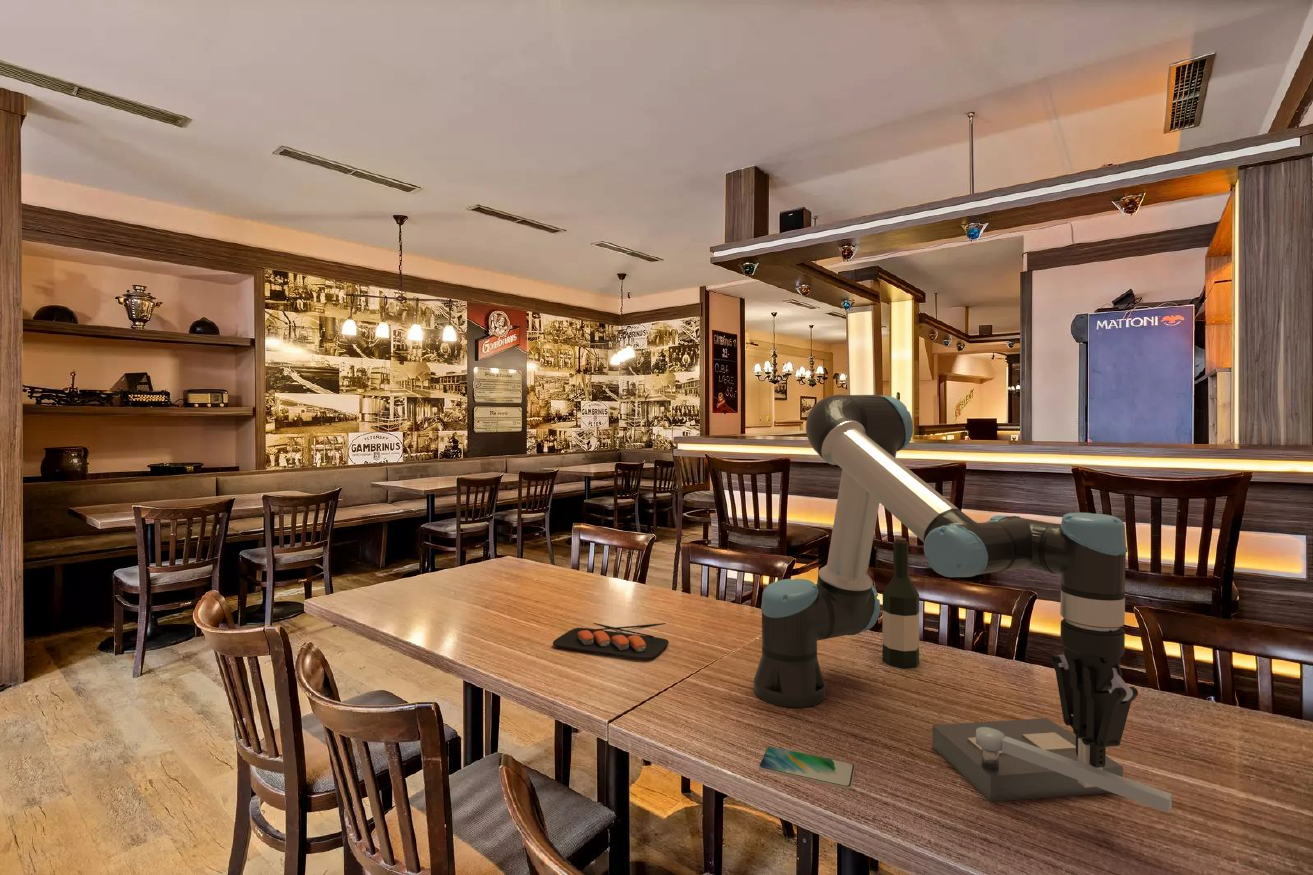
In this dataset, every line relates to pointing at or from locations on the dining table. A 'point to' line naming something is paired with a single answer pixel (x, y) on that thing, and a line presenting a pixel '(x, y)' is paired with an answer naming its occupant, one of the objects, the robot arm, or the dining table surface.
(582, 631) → the sushi plate
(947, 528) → the robot arm
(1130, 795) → the lever
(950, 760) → the grey base block
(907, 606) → the wine bottle
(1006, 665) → the dining table surface
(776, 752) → the smartphone
